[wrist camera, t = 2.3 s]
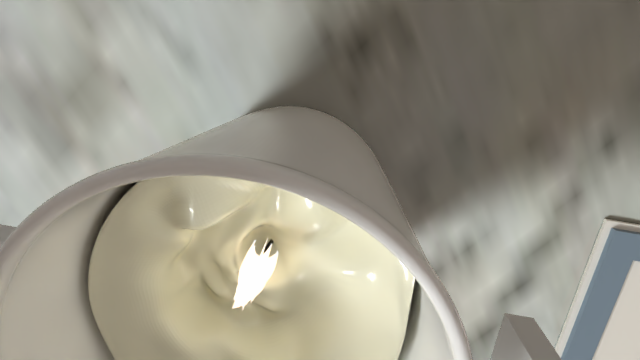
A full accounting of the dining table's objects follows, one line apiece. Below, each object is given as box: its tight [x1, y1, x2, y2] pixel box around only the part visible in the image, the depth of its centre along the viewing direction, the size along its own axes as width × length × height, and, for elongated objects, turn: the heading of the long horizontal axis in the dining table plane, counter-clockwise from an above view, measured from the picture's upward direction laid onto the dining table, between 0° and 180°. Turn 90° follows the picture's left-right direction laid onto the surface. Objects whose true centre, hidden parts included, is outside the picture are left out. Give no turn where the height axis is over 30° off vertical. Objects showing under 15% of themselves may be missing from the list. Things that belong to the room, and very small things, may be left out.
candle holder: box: [0, 106, 473, 360], centre depth 14 cm, size 10×10×12 cm
